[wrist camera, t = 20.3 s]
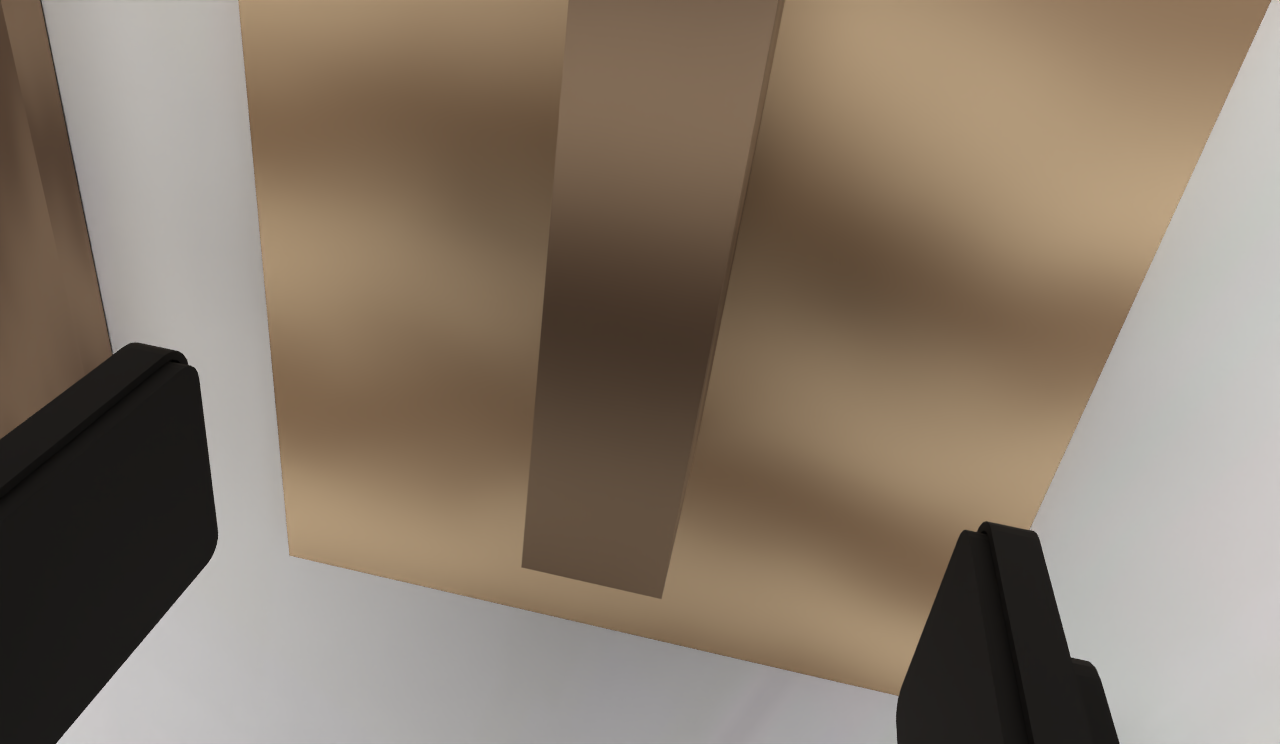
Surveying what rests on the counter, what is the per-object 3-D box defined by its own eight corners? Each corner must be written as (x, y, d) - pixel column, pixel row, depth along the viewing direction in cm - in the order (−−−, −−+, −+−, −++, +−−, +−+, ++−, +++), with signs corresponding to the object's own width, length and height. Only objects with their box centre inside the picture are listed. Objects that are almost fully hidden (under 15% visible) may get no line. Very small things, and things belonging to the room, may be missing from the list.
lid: (944, 669, 25) (968, 905, 20) (310, 525, 26) (179, 711, 21) (1471, -532, 13) (1906, -738, 7) (221, -682, 14) (-149, -941, 9)
